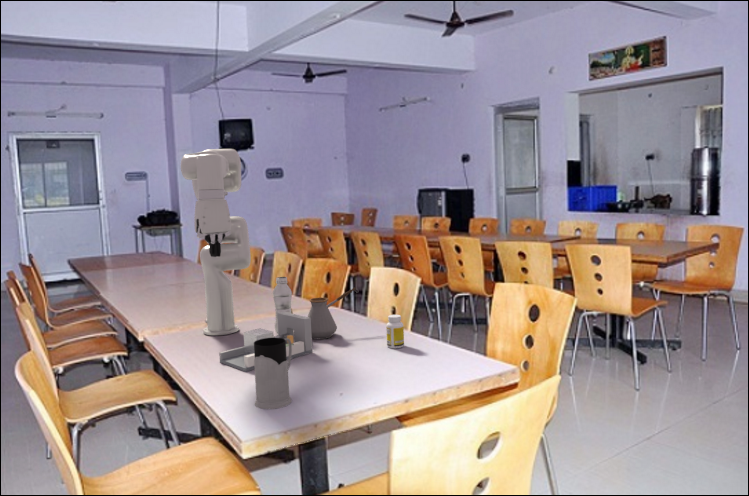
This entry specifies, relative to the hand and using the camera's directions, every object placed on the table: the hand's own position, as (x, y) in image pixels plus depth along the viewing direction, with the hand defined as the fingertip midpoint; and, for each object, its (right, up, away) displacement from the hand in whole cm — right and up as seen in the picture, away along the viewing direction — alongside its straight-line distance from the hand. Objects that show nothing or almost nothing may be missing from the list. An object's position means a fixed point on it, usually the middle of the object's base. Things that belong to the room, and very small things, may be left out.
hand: (215, 256), depth 182 cm
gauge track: (+16, -31, 0) cm, 34 cm away
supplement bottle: (+55, -29, +7) cm, 62 cm away
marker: (+23, -26, -1) cm, 35 cm away
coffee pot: (+34, -27, +26) cm, 50 cm away
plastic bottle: (+17, -28, +27) cm, 42 cm away
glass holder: (+25, -35, -35) cm, 55 cm away
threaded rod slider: (+18, -29, 0) cm, 34 cm away
